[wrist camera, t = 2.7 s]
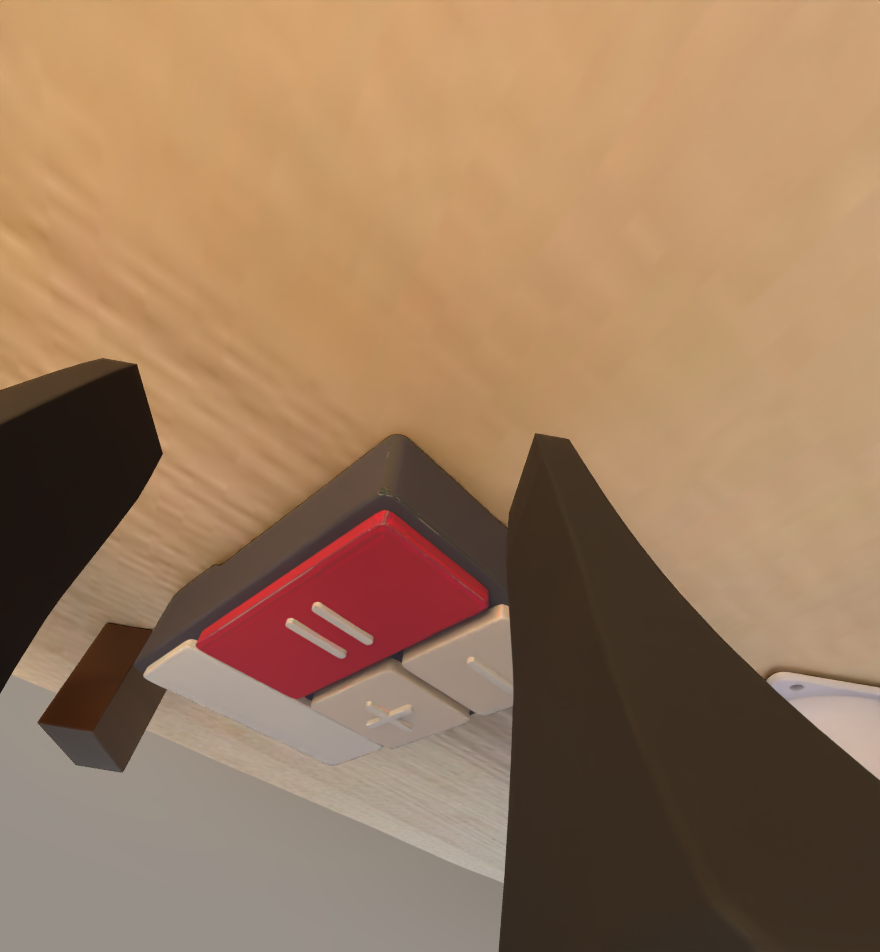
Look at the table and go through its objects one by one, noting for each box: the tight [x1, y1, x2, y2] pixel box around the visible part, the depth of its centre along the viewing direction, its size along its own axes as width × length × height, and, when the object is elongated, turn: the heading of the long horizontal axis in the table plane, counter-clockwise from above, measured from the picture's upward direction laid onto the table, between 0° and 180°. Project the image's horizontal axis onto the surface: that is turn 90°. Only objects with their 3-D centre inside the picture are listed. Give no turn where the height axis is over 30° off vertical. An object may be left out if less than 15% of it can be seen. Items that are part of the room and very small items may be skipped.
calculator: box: [134, 434, 513, 766], centre depth 20 cm, size 11×4×15 cm
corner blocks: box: [38, 623, 167, 772], centre depth 25 cm, size 26×5×5 cm, turn 82°
